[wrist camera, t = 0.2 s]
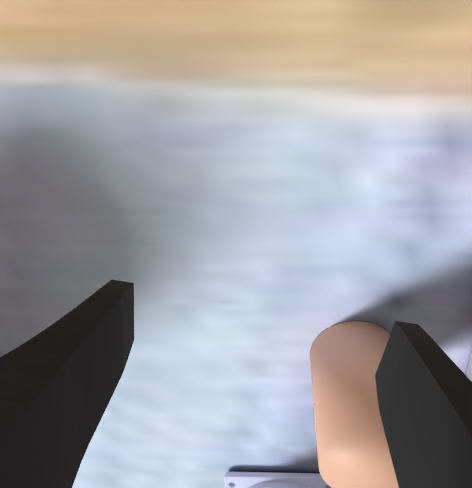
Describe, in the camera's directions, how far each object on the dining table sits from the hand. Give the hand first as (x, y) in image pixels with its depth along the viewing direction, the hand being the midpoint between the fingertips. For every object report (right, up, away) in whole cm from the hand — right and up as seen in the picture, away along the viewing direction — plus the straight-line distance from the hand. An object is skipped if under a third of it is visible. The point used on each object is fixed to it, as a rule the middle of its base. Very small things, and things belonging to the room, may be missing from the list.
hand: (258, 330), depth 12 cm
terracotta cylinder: (+6, -4, +13) cm, 15 cm away
